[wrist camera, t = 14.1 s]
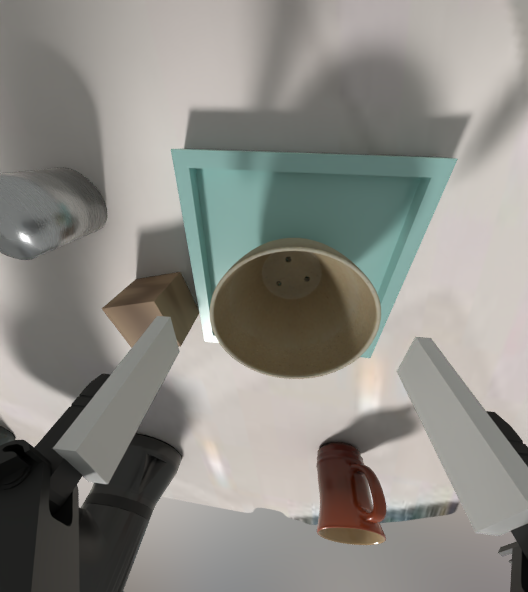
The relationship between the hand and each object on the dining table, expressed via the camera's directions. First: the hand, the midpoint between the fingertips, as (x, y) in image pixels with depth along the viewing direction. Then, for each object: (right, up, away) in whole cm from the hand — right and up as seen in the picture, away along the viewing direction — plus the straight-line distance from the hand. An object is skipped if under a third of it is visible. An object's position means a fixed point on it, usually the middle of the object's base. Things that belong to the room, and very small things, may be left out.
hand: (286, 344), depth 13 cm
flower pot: (+1, +5, +7) cm, 9 cm away
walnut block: (-11, +3, +11) cm, 16 cm away
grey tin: (-17, +11, +6) cm, 21 cm away
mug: (+12, -22, +25) cm, 36 cm away
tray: (+1, +5, +7) cm, 9 cm away
